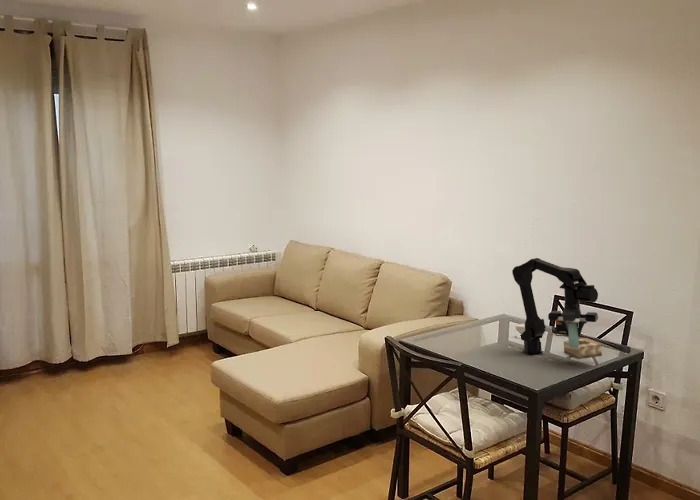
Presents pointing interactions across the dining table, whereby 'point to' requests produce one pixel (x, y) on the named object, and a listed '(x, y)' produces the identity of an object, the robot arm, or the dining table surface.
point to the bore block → (583, 349)
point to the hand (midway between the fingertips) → (573, 336)
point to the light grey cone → (520, 328)
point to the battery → (559, 326)
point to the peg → (573, 334)
